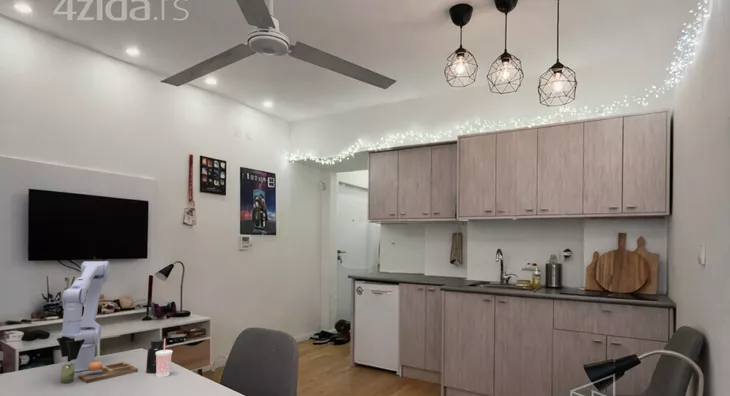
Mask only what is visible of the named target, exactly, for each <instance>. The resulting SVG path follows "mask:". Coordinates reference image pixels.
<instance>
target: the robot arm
mask: <svg viewBox="0 0 730 396" xmlns="http://www.w3.org/2000/svg"><path fill="white" fill-rule="evenodd" d="M110 270H111V265H110V262H109V261H108V260H105V261H98V260H97V261H91V260H90V261H86V260H85V261H83V262H82V263H81V266H80V274H81V275H80V277H76V279H74V281H73V282H72V284H71V286H70V287H69V288H67V289H64V291H63V293H62V298H61V303H62V309H63V317H62V328H61V329H62V330H61V331H60V333H58V334H57V338H56V341H57V343H58V345H59V347H60V354H61V357H62V358H65V357H68V359H69V361H70V363H71V364H75V368H74V373H78V372H83V371H88V364H89V363H90V362H95V359H96V358H95V355H96V346H97V345H98V344H99V343H100V342H101V338H102V326H101V324H99V323H98V322H96V318H97V313H98V308H99V303H100V298H101V294H102V293H101V291H102V288H103V285H104V283H107V282H108V279H109V276H110V273H111V272H110ZM84 303H85V304H84ZM83 304H84V309H83Z"/></svg>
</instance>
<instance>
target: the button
mask: <svg viewBox="0 0 730 396" xmlns="http://www.w3.org/2000/svg"><path fill="white" fill-rule="evenodd" d="M102 366H103V361H100V360H98V361H97V360H96V361H95V360H94V362H90V363H89V364H88V370H87V371H89V372H95V371H99V370H101V369H102Z"/></svg>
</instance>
